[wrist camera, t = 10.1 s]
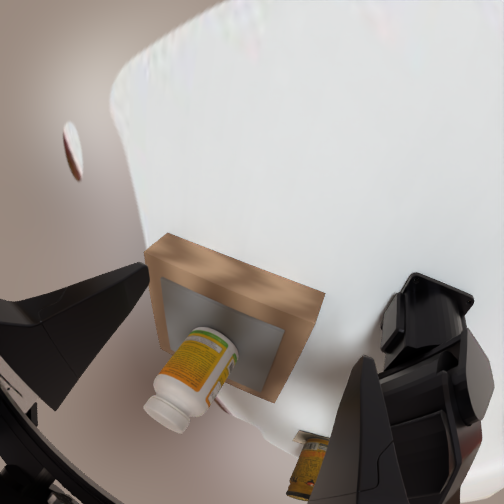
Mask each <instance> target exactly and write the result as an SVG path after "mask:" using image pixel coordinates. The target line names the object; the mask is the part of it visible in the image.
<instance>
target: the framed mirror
mask: <svg viewBox="0 0 504 504" xmlns="http://www.w3.org/2000/svg"><path fill="white" fill-rule="evenodd" d="M144 256H145V264H146V265H147V266H148V268H149V275H150V283H149V291H150V296H151V303H152V308H153V314H154V319H155V324H156V329H157V334H158V338H159V343H160V347H161V349H162V350H164V351H166V352H168V353H169V354H171V355H174V353H175V352H176V351H177V350H178V348H179V347H180V346H181V344H182V343H183V342H184V341H185V339H186V338H187V337H188V335H189V334H190V333H191V332H192V331H193V330H194V329H195V328H198V327H208V328H211V329H214V330H216V331H218V332H220V333H221V334H223V335H224V336H226V337H227V338H228V339H229V340H230V341H231V342H232V343H233V344H234V345H235V347H236V348H237V350H238V355H239V356H238V360H237V362H236V364H235V366H234V368H233V369H232V371H231V372H230V374H229V376H228V377H227V379H226V381H225V382H226V383H228V384H230V385H232V386H235V387H237V388H239V389H241V390H243V391H246V392H248V393H250V394H253V395H255V396H257V397H260V398H262V399H265V400H267V401H270V402H272V403H275V401H276V399H277V398H278V396H279V394H280V392H281V390H282V389H283V387H284V385H285V383H286V381H287V379H288V377H289V375H290V374H291V372H292V370H293V368H294V366H295V364H296V362H297V360H298V358H299V356H300V354H301V352H302V350H303V348H304V346H305V344H306V342H307V340H308V338H309V336H310V333H311V331H312V329H313V327H314V325H315V323H316V320H317V317H318V314H319V311H320V308H321V305H322V302H323V299H324V296H325V293H323V292H321V291H318V290H315V289H313V288H310V287H307V286H305V285H302V284H299V283H297V282H294V281H291V280H289V279H286V278H283V277H281V276H278V275H276V274H273V273H270V272H268V271H265V270H262V269H260V268H257V267H255V266H252V265H249V264H247V263H244V262H242V261H239V260H236V259H234V258H231V257H229V256H226V255H223V254H221V253H218V252H216V251H213V250H211V249H208V248H205V247H203V246H200V245H198V244H195V243H193V242H190V241H188V240H185V239H182V238H180V237H177V236H175V235H172V234H170V233H167V234H165V235H164V236H163V237H162V238H160V239H159V240H158V241H157V242H155V243H154V244H153V245H152V246H150V247H149V248H148V249H147V250H146V251H144Z"/></svg>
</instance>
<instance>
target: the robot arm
mask: <svg viewBox="0 0 504 504" xmlns="http://www.w3.org/2000/svg"><path fill="white" fill-rule="evenodd" d="M415 278H418V280H414V279H415ZM149 283H150V275H149V268H148V266H147V265H146V264H143V263H141V262H137V263H134V264H131V265H128V266H125V267H122V268H120V269H117V270H114V271H111V272H108V273H105V274H102V275H99V276H96V277H94V278H90V279H87V280H85V281H82V282H79V283H76V284H73V285H70V286H68V287H65V288H62V289H59V290H56V291H53V292H50V293H47V294H43V295H40V296H36V297H32V298H29V299H25V300H21V301H16V302H12V301H6V300H3V299H0V456H1V457H2V459H3V460H4V461H5V463H6V464H7V465H6V466H5V467H4V468H3V470H2V471H1V472H0V504H79V503H78V502H77V501H75V500H74V499H73V498H72V497H71V496H70V495H67V494H65V493H64V492H63V491H62V490H61V489H60V488H58V487H57V486H56V485H54V484H53V482H54V481H55V479H56V480H58V481H59V482H60V483H61V484H62V486H63V487H64V488H66V489H67V490H68V491H70V492H71V494H72V495H73V496H75V497H76V498H77V499H79V500H80V501H81V502H82V503H83V504H124V503H122V502H121V501H119V500H118V499H117V498H115V497H114V496H112V495H111V494H110V493H108V492H107V491H105V490H104V489H103V488H101V487H100V486H99V485H98V484H96V483H95V482H94V481H93V480H91V479H90V478H89V477H88V476H86V475H85V474H84V473H83V472H82V471H81V470H79V469H78V468H77V467H76V466H75V465H74V464H73V463H71V462H70V461H69V460H68V459H67V458H66V457H65V456H64V455H63V454H62V453H61V452H60V451H59V450H57V449H56V447H55V446H54V445H53V444H51V442H50V441H49V440H48V439H47V438H46V437H45V436H44V435H43V434H42V433H41V432H40V431H39V430H38V429H37V426H38V421H37V403H36V401H37V400H38V399H39V397H40V398H41V399H42V400H43V401H44V402H45V403H46V404H47V405H48V406H49V407H50V408H52V409H53V410H54V411H56V410H57V409H58V408H59V406H60V405H61V403H62V402H63V401H64V399H65V398H66V396H67V395H68V394H69V392H70V391H71V389H72V388H73V387H74V385H75V384H76V382H77V381H78V379H79V378H80V377H81V375H82V374H83V373H84V371H85V370H86V369H87V367H88V366H89V365H90V363H91V362H92V361H93V359H94V358H95V357H96V355H97V354H98V353H99V352H100V350H101V349H102V348H103V346H104V345H105V344H106V342H107V341H108V340H109V339H110V337H111V336H112V335H113V333H114V332H115V331H116V330H117V328H118V327H119V326H120V325H121V323H122V322H123V321H124V320H125V318H126V317H127V316H128V315H129V313H130V312H131V311H132V309H133V308H134V306H135V305H136V303H137V302H138V300H139V298H140V297H141V296H142V294H143V293H144V291H145V289H146V288H147V287H148V285H149ZM468 300H470V301H468ZM467 301H468V302H467ZM473 304H474V298H473V296H472V295H470V294H468V293H466V292H464V291H461V290H459V289H457V288H454V287H452V286H449V285H447V284H445V283H442V282H440V281H437V280H435V279H433V278H430V277H428V276H425V275H423V274H420V273H417V272H416V273H413V274H411V276H410V277H409V279H408V281H407V283H406V284H405V286H404V288H403V289H402V291H401V292H399V293H397V294H396V296H395V297H394V299H393V300H392V302H391V304H390V305H389V307H388V309H387V310H386V312H385V313H384V320H383V321H382V323H381V329H382V330H383V332H382V341H381V351H382V352H384V353H386V356H385V364H384V372H382V373H379V374H378V373H377V370H376V366H375V363H374V360H373V358H371V357H368V356H365V355H363V356H362V357H361V358H360V359H359V361H358V362H357V363H356V364H355V366H354V367H353V369H352V371H351V374H350V377H349V380H348V383H347V386H346V389H345V391H344V394H343V397H342V399H341V402H340V405H339V408H338V411H337V415H336V419H335V423H334V426H333V430H332V433H331V437H330V440H329V443H328V447H327V450H326V453H325V456H324V459H323V462H322V465H321V468H320V471H319V474H318V477H317V480H316V483H315V485H314V488H313V491H312V493H311V496H310V498H309V501H308V504H460V487H461V484H462V482H463V481H464V479H465V477H466V475H467V473H468V471H469V469H470V467H471V465H472V463H473V461H474V458H475V456H476V454H477V452H478V449H479V447H480V445H481V442H482V429H481V420H482V419H483V418H484V415H485V413H486V410H487V408H488V405H489V402H490V399H491V397H492V394H493V391H494V380H493V375H492V371H491V366H490V362H489V359H488V358H487V356H486V354H485V353H484V351H483V350H482V348H481V346H480V345H479V343H478V342H477V340H476V339H475V337H474V336H473V334H472V333H471V331H470V330H469V328H467V326H466V320H465V314H466V313H467V312H468V311H469V309H470V308H471V307H472V305H473Z"/></svg>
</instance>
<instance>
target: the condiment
mask: <svg viewBox="0 0 504 504" xmlns="http://www.w3.org/2000/svg"><path fill="white" fill-rule="evenodd" d="M329 440H330V438H326V437H322V436H317V435H314V434H311V433H305V432H302V431H299V432H298V433H297V435H296V436H295V438H294V439H293V441H295V442H297V443H301V444H304V447H303V449H302V452H301V454H300V456H299V459H298V462H297V464H296V467H295V469H294V471H293V473H292V476H291V478H290V485H289V487H288V491H287V492H286V495H287V496H289V497H292V498H295V499H298V500H303V501H309V498H310V496H311V493H312V491H313V488H314V485H315V483H316V480H317V477H318V474H319V471H320V468H321V465H322V462H323V459H324V456H325V453H326V450H327V447H328V443H329Z"/></svg>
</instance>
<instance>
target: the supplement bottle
mask: <svg viewBox="0 0 504 504" xmlns="http://www.w3.org/2000/svg"><path fill="white" fill-rule="evenodd" d="M238 356H239V355H238V350H237V348H236V347H235V345H234V344H233V343H232V342H231V341H230V340H229V339H228V338H227V337H226V336H224V335H223V334H221V333H220V332H218V331H216V330H214V329H211V328H208V327H198V328H195V329H194V330H193V331H192V332H191V333H190V334H189V335H188V337H187V338H186V339H185V341H184V342H183V343H182V344H181V346H180V347H179V348H178V350H177V351H176V352H175V353H174V355H173V356H172V357H171V359H170V360H169V361H168V362H167V364H166V365H165V366H164V368H163V369H162V370H161V372H160V373H159V374H158V375H157V377H156V378H155V380H154V389H155V391H156V393H157V394H156V395H155V396H152V397H151V398H149V400H148V401H147V403H146V404H145V405H144V410H145V411H146V412H147V413H148V414H149V415H150V416H151V417H152V418H153V419H155V420H156V421H157V422H159V423H160V424H162V425H163V426H165V427H167V428H169V429H170V430H172V431H175V432H177V433H183V432H184V430H185V429H186V428H187V426H188V425H189V422H190V419H189V418H190V417H191V416H192V417H199V416H202V415H204V414H205V413H206V411H207V410H208V408H209V407H210V405H211V403H212V402H213V400H214V399H215V397H216V395H217V394H218V392H219V390H220V389H221V387H222V386H223V384H224V382H225V381H226V379H227V377H228V376H229V374H230V372H231V371H232V369H233V368H234V366H235V364H236V362H237V360H238Z"/></svg>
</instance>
